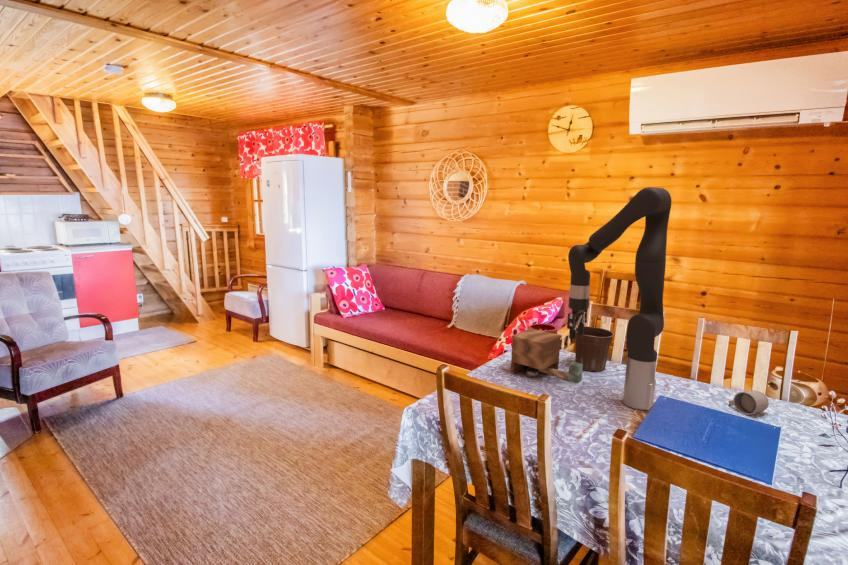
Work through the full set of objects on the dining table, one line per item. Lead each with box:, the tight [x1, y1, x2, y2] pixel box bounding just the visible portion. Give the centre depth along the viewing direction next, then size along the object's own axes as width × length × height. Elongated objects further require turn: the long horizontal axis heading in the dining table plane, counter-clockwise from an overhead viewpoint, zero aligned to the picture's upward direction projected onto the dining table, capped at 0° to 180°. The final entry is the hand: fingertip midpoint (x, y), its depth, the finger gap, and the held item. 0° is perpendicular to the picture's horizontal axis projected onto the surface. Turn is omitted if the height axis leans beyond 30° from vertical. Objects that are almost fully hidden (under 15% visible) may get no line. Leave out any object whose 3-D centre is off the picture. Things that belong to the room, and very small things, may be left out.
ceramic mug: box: [728, 390, 770, 416], centre depth 155 cm, size 11×8×8 cm
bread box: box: [510, 328, 563, 375], centre depth 185 cm, size 15×16×16 cm
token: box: [525, 367, 540, 379], centre depth 183 cm, size 5×5×2 cm
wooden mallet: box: [528, 361, 583, 384], centre depth 184 cm, size 22×4×7 cm, turn 50°
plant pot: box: [574, 325, 615, 373], centre depth 193 cm, size 16×16×16 cm
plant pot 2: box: [528, 323, 558, 334], centre depth 214 cm, size 13×13×12 cm
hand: (576, 336), depth 175 cm, fingers open, 8 cm apart
